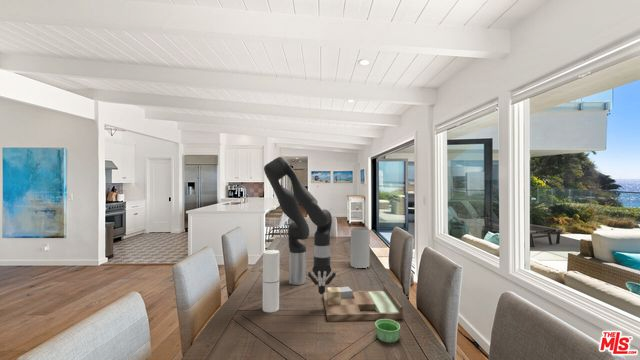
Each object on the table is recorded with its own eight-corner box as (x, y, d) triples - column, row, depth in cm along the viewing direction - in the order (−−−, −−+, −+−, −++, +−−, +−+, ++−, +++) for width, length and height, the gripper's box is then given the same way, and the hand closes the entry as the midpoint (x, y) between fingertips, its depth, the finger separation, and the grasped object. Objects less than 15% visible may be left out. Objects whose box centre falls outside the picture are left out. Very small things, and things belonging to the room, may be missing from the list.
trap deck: (327, 321, 112) (327, 308, 112) (323, 296, 136) (323, 286, 136) (402, 319, 113) (402, 307, 114) (385, 295, 137) (385, 285, 137)
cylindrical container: (265, 313, 117) (265, 254, 118) (260, 307, 124) (261, 250, 124) (281, 310, 121) (281, 252, 121) (275, 303, 127) (276, 249, 127)
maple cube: (328, 304, 121) (328, 292, 121) (327, 299, 126) (327, 287, 127) (340, 304, 121) (340, 291, 121) (339, 299, 127) (339, 287, 127)
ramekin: (383, 327, 107) (383, 316, 107) (404, 337, 101) (404, 324, 101) (369, 336, 101) (370, 324, 101) (391, 347, 95) (391, 334, 95)
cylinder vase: (370, 269, 179) (371, 230, 179) (351, 269, 179) (351, 230, 179) (367, 263, 191) (368, 227, 192) (349, 263, 191) (350, 227, 192)
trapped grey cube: (341, 304, 128) (341, 292, 128) (337, 299, 133) (337, 287, 133) (352, 302, 129) (352, 290, 130) (347, 297, 135) (347, 286, 135)
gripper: (307, 257, 120) (306, 297, 119) (337, 256, 120) (337, 296, 120) (307, 252, 127) (306, 290, 127) (335, 252, 128) (335, 290, 128)
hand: (321, 293), depth 124 cm, fingers closed
